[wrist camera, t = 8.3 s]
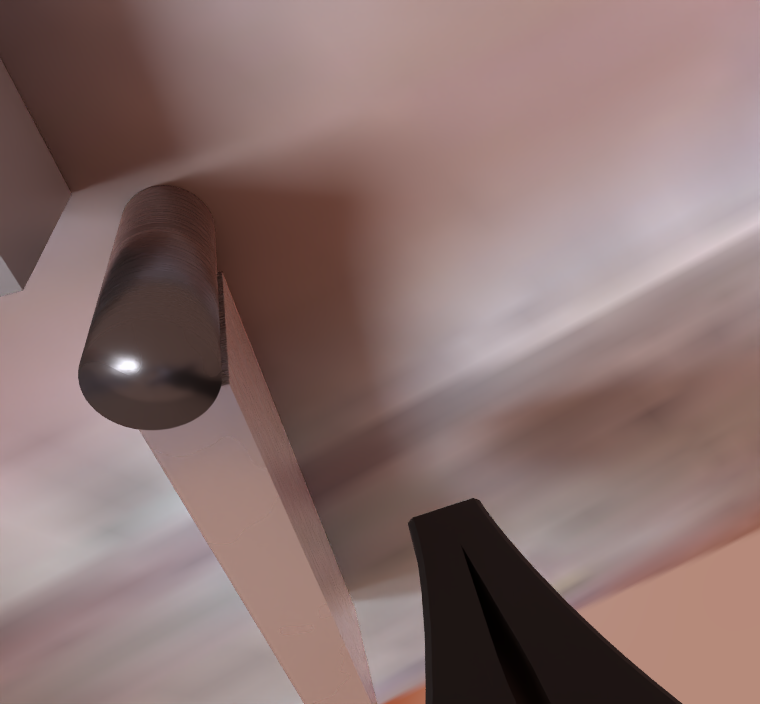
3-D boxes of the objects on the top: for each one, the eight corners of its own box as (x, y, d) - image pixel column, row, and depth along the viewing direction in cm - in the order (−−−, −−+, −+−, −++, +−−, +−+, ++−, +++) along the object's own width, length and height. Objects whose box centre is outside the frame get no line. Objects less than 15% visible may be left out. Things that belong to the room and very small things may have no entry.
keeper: (105, 199, 9) (50, 345, 6) (196, 175, 9) (194, 305, 6) (305, 608, 16) (331, 776, 13) (355, 592, 16) (393, 753, 13)
